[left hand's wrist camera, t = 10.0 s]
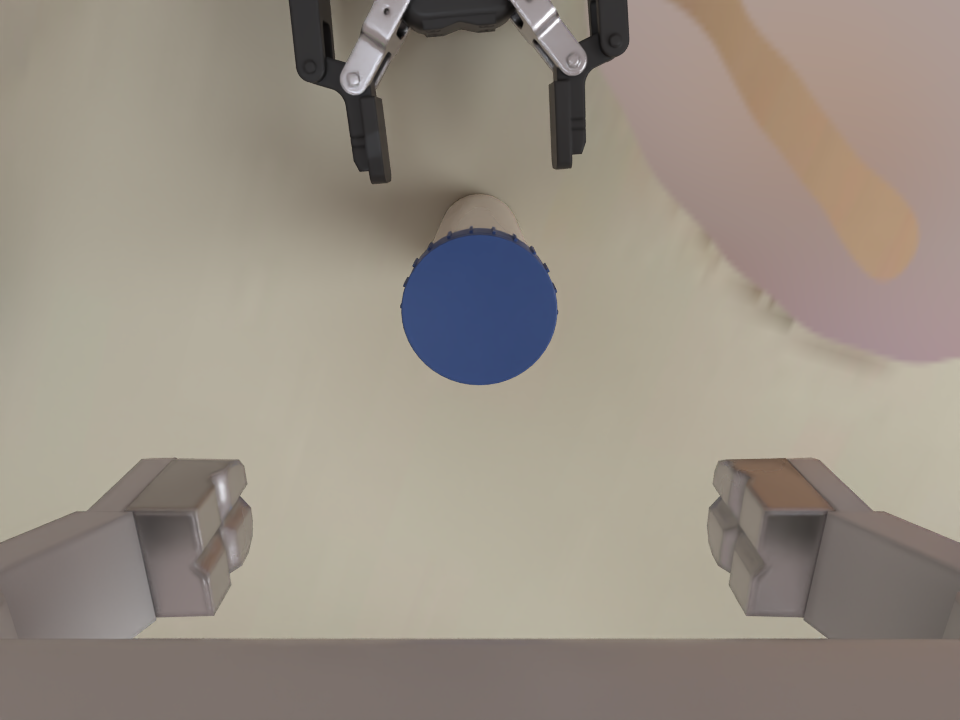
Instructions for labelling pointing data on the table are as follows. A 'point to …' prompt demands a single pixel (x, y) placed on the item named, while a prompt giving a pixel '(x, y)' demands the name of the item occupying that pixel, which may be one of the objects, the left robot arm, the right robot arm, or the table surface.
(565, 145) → the right robot arm
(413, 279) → the lid
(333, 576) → the table surface
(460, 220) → the jar
